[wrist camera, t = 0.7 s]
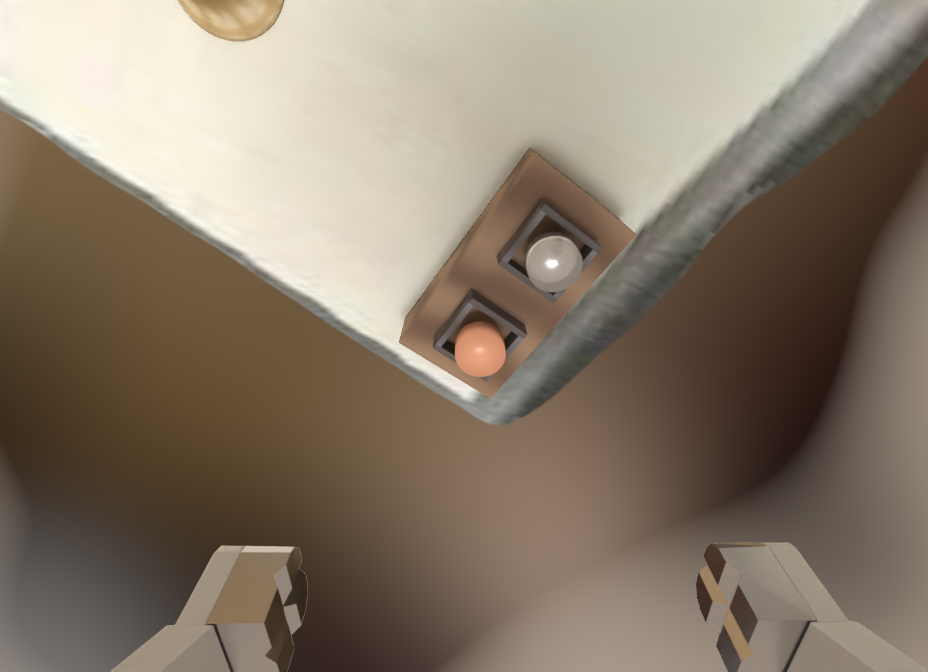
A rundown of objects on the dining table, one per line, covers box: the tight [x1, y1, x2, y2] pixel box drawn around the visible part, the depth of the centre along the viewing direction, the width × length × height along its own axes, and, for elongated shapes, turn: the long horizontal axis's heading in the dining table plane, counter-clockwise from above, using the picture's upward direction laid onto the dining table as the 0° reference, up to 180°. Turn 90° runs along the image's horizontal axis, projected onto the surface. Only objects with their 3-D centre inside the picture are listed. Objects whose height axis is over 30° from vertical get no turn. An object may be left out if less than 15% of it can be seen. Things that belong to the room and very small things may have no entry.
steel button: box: [524, 232, 583, 292], centre depth 37 cm, size 4×4×2 cm
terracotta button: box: [455, 321, 506, 377], centre depth 40 cm, size 4×4×2 cm
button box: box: [399, 148, 636, 398], centre depth 43 cm, size 19×10×7 cm, turn 144°
